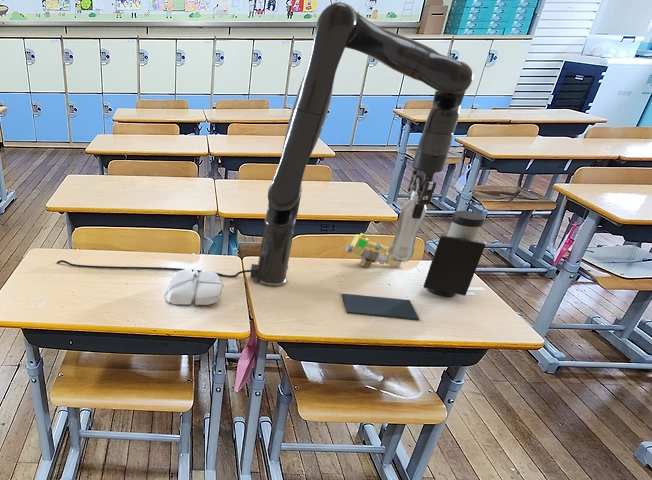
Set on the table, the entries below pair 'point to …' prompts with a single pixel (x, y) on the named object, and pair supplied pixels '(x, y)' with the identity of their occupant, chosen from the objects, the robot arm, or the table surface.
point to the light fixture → (456, 256)
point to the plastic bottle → (406, 232)
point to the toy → (369, 251)
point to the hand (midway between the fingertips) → (412, 214)
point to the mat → (379, 306)
